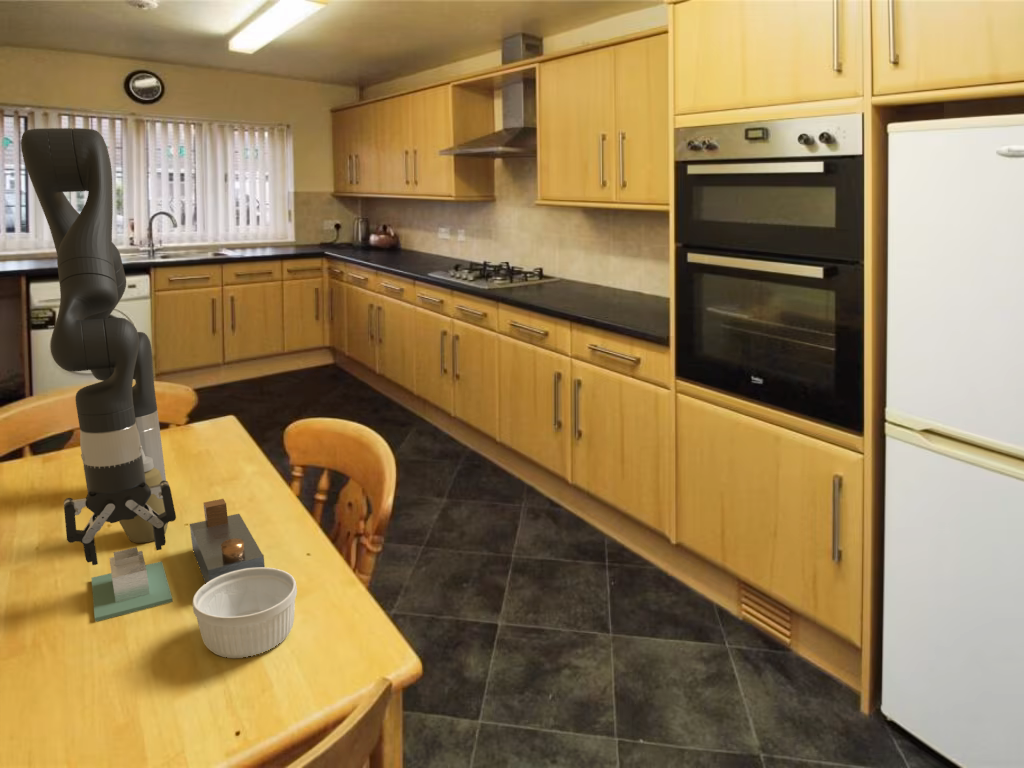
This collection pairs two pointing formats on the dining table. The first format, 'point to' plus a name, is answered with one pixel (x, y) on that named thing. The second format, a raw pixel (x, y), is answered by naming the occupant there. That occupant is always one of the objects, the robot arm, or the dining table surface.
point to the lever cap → (129, 574)
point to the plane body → (223, 542)
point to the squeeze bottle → (139, 527)
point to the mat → (110, 608)
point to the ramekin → (246, 611)
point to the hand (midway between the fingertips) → (127, 555)
